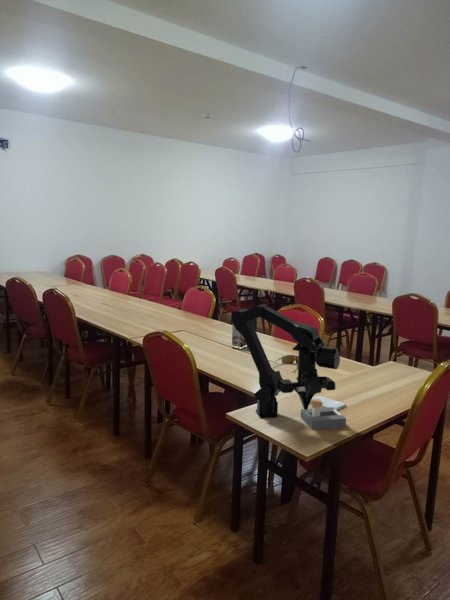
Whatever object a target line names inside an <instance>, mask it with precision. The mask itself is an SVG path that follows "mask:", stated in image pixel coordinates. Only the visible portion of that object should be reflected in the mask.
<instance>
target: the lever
mask: <svg viewBox="0 0 450 600" xmlns="http://www.w3.org/2000/svg"><path fill="white" fill-rule="evenodd" d="M322 404H323V403H322V402H321V401H320V400H319V399H312V400H311V404H310V405H311V409H312V417H317V416H320V410H321V407H322Z"/></svg>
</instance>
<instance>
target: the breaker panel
mask: <svg viewBox="0 0 450 600" xmlns="http://www.w3.org/2000/svg"><path fill="white" fill-rule="evenodd" d="M300 418H301V420H302V421H303V422H305V424H306V425H307V426H308V427H309V428H310V430H313V431H314V430H325V429H339V428H340V429H341V428H346V426H347V418H346V417H345V416H344V415H343V414H341V412H339V410H336V409H334V408H333V407H330V408H321V410H320V416H317V417H312V408H308V409H307V410H304V408H303V409H302V408H301V409H300Z"/></svg>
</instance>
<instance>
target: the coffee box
mask: <svg viewBox="0 0 450 600" xmlns="http://www.w3.org/2000/svg"><path fill="white" fill-rule="evenodd" d="M231 331H232V333H231V335H232V336H231V346H232V345H233V346H238V347H243V346H245V345H247V344H246V342H245V339H244V337H243V336H242V335H241V334H240V333H239V332H238V331H237V330H236V328H235V327H234V325H233V323H232V329H231Z"/></svg>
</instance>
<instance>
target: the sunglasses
mask: <svg viewBox="0 0 450 600" xmlns="http://www.w3.org/2000/svg"><path fill="white" fill-rule="evenodd" d="M298 357H299V354H293V353H292V354H290V353H289V354H285V355H282V356H281V357H278V358H277V359H276V360H275V361H274V363H273V364H272V365H273V366H272V369H273V370H275V368H274V367H275V364H276V363H277V362H278V361H280V360H281V364H294V361H295V364H296V366H297V365H298ZM296 371H298V369H297V368H295V369H294V370H293V371H292V373H295V372H296Z"/></svg>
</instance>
